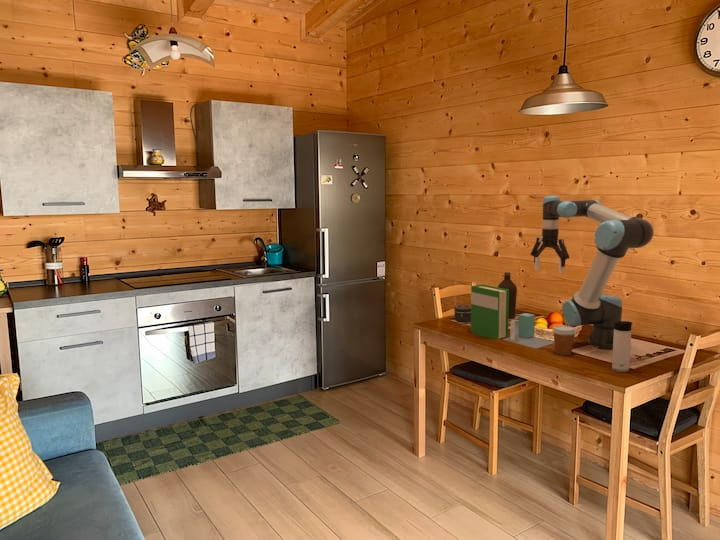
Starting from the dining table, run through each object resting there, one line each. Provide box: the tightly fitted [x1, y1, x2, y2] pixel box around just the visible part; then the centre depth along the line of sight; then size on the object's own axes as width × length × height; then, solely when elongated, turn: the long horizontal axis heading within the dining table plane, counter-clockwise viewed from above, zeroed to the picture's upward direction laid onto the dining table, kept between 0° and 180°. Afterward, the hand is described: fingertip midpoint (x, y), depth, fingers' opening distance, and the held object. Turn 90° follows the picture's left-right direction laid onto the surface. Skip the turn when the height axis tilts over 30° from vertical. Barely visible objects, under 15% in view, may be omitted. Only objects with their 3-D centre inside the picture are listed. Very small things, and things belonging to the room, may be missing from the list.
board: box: [501, 336, 555, 349], centre depth 263 cm, size 19×15×1 cm
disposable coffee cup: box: [552, 324, 577, 356], centre depth 243 cm, size 10×10×12 cm
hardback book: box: [470, 284, 509, 340], centre depth 274 cm, size 18×7×24 cm, turn 33°
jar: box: [453, 304, 471, 323], centre depth 307 cm, size 10×10×8 cm
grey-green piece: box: [518, 312, 536, 338], centre depth 269 cm, size 5×5×11 cm
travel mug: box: [611, 320, 633, 373], centre depth 222 cm, size 6×7×20 cm
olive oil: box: [497, 271, 518, 320], centre depth 311 cm, size 11×11×25 cm
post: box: [507, 319, 521, 343], centre depth 264 cm, size 4×4×10 cm
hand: (548, 271), depth 275 cm, fingers open, 13 cm apart
